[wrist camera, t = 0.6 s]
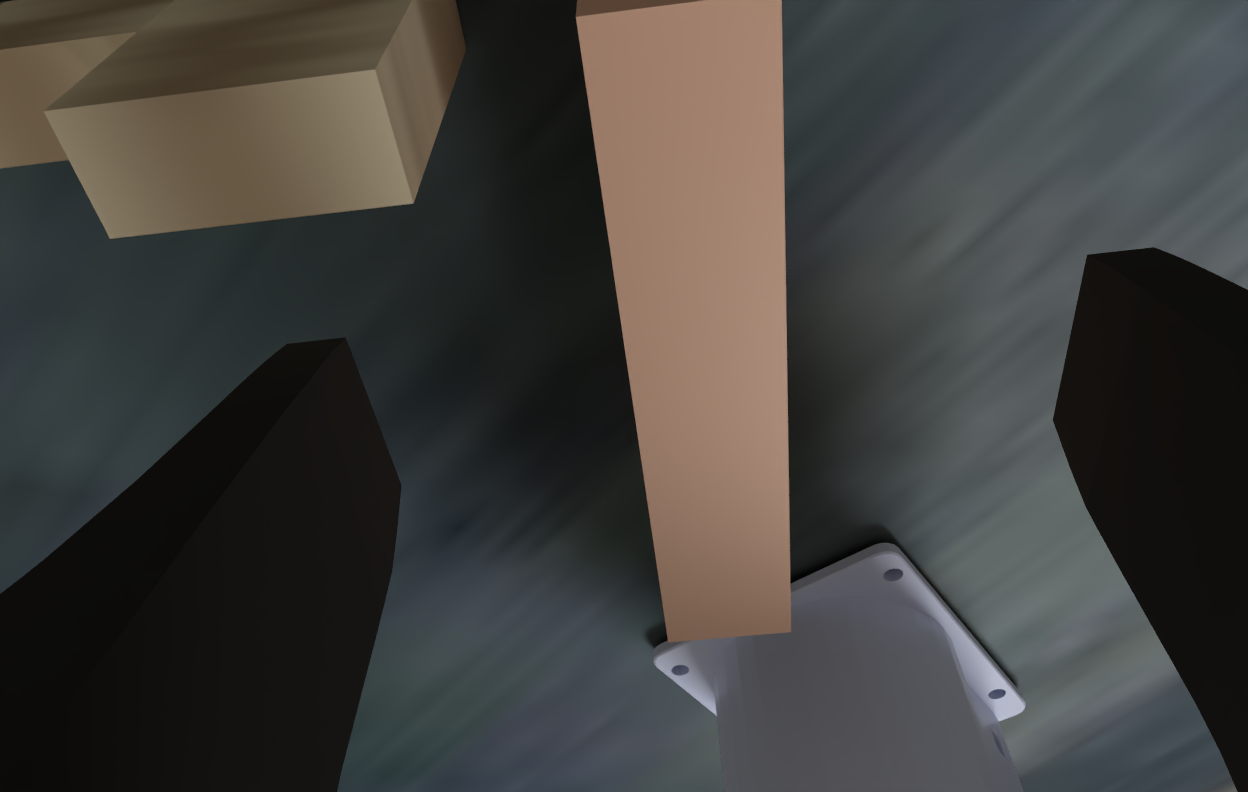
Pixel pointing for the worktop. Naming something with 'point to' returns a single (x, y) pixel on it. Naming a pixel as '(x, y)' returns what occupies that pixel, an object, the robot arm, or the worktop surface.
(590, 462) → the worktop surface
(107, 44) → the tan notched block
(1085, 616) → the worktop surface
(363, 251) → the worktop surface
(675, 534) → the tan flat notched board
